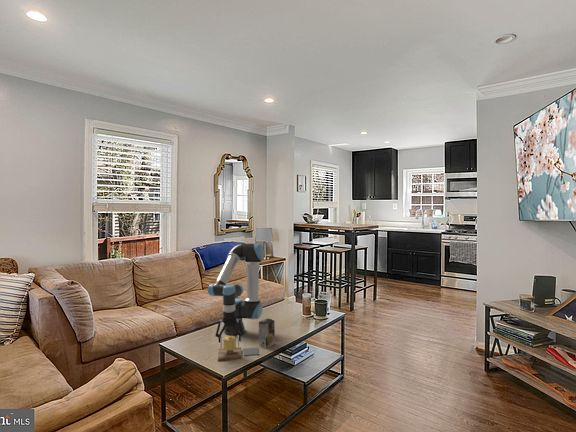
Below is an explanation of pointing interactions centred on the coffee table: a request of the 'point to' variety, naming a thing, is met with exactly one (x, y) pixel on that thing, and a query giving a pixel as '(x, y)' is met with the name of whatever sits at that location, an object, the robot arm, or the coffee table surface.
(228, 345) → the yellow lidded jar
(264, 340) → the coffee box
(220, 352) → the post base
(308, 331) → the coffee table surface
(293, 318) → the coffee table surface
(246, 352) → the mat
